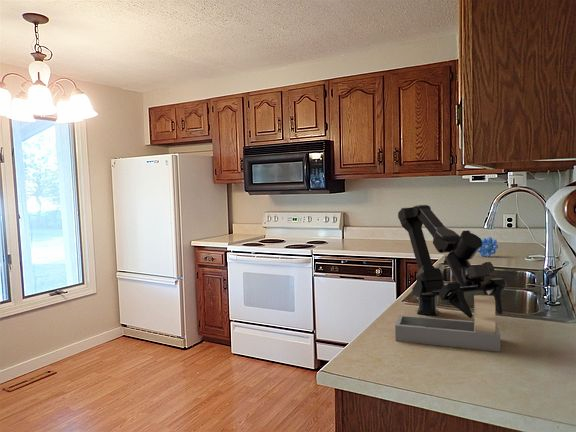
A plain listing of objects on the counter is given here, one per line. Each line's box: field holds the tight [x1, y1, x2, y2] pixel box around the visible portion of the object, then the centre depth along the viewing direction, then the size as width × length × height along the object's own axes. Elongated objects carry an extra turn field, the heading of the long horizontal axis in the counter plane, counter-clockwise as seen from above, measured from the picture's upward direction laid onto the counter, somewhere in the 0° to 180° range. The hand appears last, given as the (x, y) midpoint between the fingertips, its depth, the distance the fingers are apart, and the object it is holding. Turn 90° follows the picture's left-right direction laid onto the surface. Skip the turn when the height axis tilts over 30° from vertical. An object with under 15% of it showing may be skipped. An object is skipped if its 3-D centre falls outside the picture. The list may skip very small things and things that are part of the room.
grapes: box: [477, 236, 499, 257], centre depth 247 cm, size 12×7×12 cm, turn 57°
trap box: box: [394, 314, 501, 353], centre depth 119 cm, size 10×27×4 cm, turn 68°
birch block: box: [473, 294, 496, 333], centre depth 115 cm, size 5×5×11 cm
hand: (486, 315), depth 114 cm, fingers open, 9 cm apart
